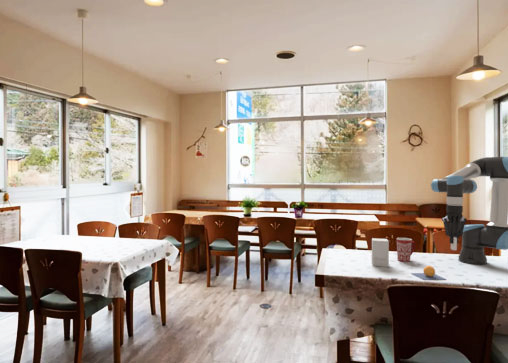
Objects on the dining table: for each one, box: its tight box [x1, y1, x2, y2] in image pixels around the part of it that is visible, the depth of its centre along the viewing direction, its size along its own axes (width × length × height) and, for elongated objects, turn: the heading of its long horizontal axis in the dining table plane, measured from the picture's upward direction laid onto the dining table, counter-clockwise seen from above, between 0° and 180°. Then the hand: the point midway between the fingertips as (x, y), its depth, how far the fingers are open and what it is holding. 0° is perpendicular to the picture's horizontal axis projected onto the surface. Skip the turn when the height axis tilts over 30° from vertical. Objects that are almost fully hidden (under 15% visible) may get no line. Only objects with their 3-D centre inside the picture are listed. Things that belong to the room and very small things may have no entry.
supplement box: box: [371, 237, 390, 268], centre depth 213 cm, size 9×9×15 cm
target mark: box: [410, 272, 447, 281], centre depth 189 cm, size 12×12×1 cm
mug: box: [396, 237, 416, 263], centre depth 225 cm, size 13×9×14 cm
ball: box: [423, 265, 436, 277], centre depth 188 cm, size 6×6×6 cm
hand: (453, 249), depth 190 cm, fingers closed
